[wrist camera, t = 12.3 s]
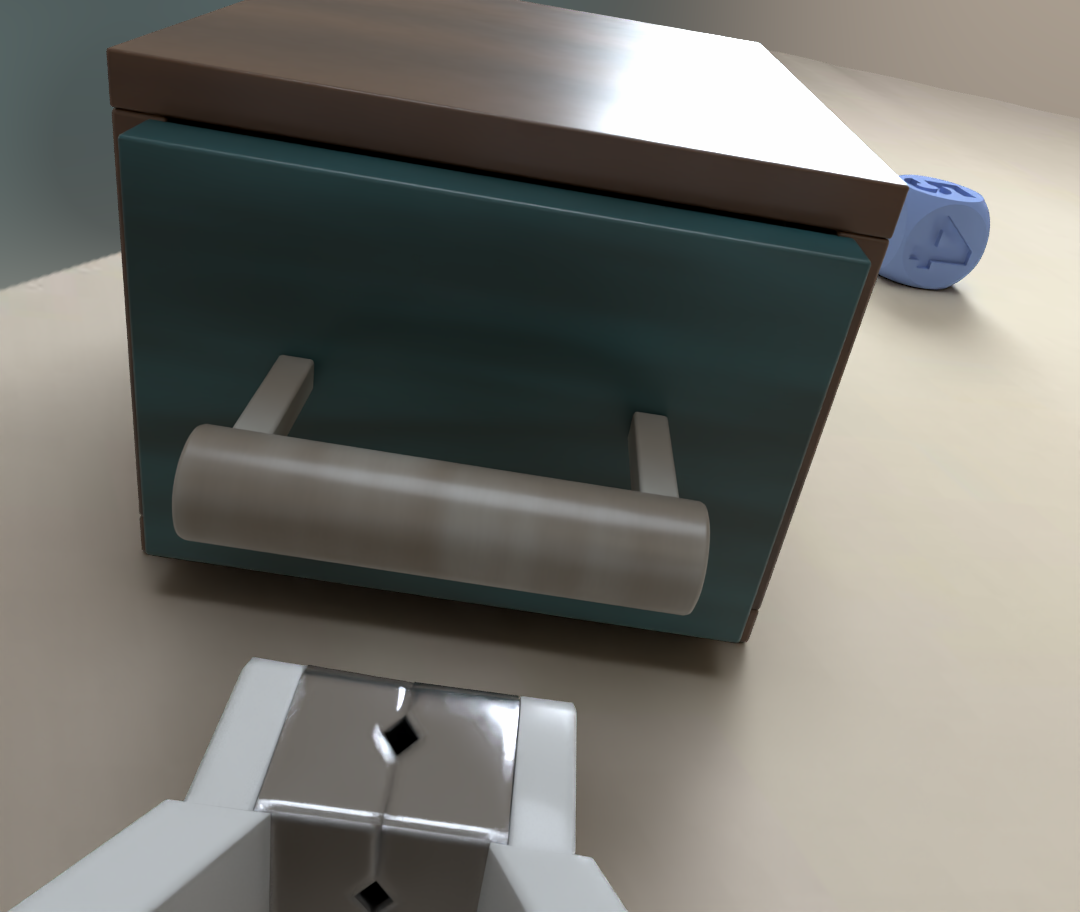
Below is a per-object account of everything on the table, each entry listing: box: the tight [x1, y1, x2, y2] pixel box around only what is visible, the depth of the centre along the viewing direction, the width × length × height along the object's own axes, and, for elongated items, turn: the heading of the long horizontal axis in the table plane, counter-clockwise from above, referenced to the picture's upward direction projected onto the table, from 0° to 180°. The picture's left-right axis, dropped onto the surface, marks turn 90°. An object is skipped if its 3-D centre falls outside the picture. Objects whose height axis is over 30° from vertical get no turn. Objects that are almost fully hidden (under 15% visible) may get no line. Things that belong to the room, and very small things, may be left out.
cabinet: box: [106, 0, 909, 642], centre depth 24 cm, size 16×13×10 cm
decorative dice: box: [879, 175, 990, 289], centre depth 44 cm, size 4×4×4 cm
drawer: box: [118, 119, 871, 643], centre depth 21 cm, size 19×12×8 cm, turn 178°
